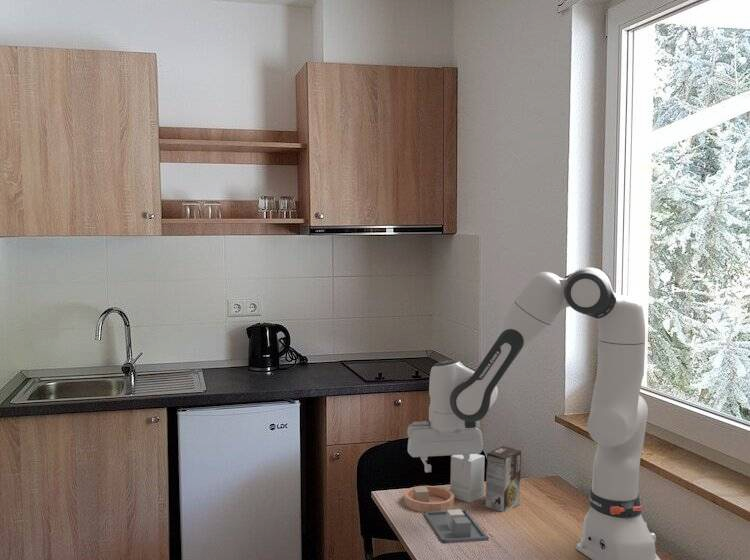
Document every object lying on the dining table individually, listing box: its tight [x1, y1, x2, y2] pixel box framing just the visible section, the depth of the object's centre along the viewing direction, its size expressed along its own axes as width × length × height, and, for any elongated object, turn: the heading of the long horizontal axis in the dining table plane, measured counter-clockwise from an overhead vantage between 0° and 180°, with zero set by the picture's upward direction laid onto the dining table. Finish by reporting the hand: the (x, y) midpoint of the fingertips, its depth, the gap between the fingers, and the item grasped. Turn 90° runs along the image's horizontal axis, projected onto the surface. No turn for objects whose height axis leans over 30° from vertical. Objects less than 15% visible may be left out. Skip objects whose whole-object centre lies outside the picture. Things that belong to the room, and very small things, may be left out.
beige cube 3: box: [446, 508, 465, 530], centre depth 209 cm, size 4×4×4 cm
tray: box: [423, 509, 489, 544], centre depth 209 cm, size 18×12×1 cm, turn 11°
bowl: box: [403, 485, 455, 513], centre depth 225 cm, size 14×14×3 cm
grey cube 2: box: [452, 517, 471, 538], centre depth 203 cm, size 4×4×4 cm
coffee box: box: [485, 445, 522, 513], centre depth 224 cm, size 9×6×16 cm
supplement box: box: [449, 454, 486, 503], centre depth 231 cm, size 7×7×13 cm
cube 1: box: [413, 486, 429, 503], centre depth 224 cm, size 4×4×4 cm
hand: (445, 470), depth 212 cm, fingers open, 8 cm apart
